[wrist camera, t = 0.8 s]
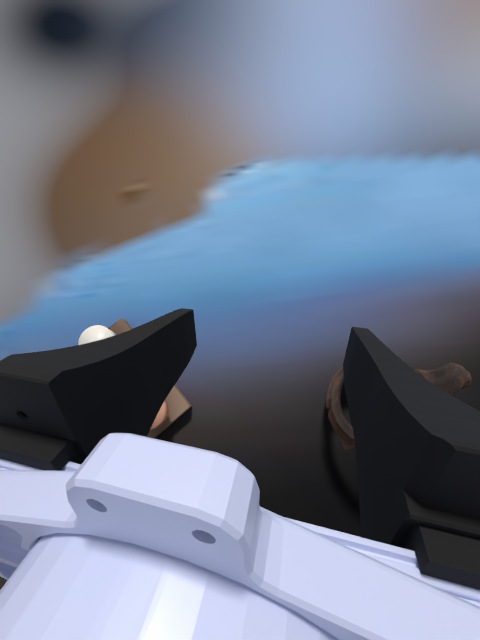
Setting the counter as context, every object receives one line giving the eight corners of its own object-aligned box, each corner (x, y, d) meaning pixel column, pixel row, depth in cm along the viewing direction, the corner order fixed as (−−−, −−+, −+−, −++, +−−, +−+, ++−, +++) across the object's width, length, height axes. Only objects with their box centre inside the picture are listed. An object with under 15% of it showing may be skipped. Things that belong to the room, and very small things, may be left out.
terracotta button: (148, 435, 22) (142, 438, 21) (129, 409, 23) (122, 409, 21) (175, 412, 23) (171, 413, 21) (156, 387, 24) (150, 386, 22)
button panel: (148, 443, 24) (144, 445, 23) (84, 352, 27) (77, 350, 25) (191, 406, 25) (189, 406, 24) (126, 321, 28) (121, 318, 26)
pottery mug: (377, 493, 24) (374, 494, 18) (315, 405, 30) (296, 382, 24) (494, 419, 23) (533, 392, 17) (406, 343, 29) (410, 303, 23)
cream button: (99, 366, 24) (89, 364, 22) (82, 343, 24) (72, 339, 23) (125, 346, 24) (118, 342, 23) (108, 324, 25) (100, 318, 24)
